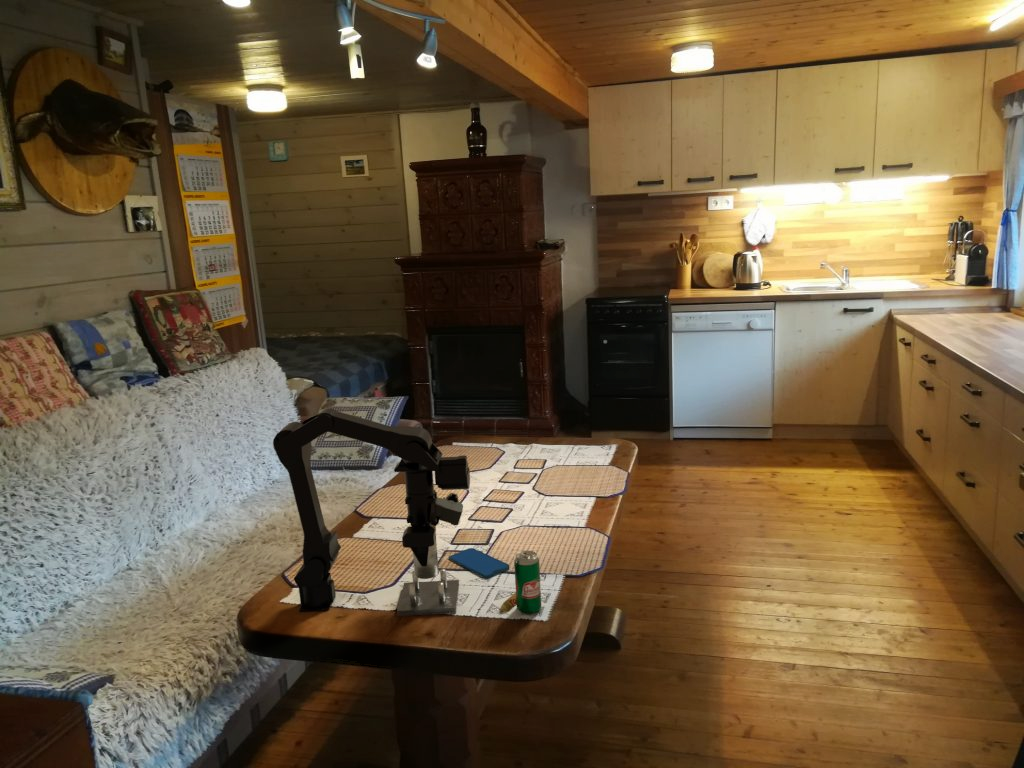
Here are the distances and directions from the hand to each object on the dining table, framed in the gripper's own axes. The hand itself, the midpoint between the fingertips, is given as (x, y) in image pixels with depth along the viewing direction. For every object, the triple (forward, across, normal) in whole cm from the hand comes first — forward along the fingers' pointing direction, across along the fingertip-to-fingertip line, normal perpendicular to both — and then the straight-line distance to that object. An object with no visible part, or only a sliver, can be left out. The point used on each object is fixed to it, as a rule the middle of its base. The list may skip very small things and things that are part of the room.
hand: (425, 560), depth 160 cm
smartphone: (+10, +16, -10) cm, 21 cm away
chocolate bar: (+10, -1, -19) cm, 22 cm away
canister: (+3, 0, 0) cm, 3 cm away
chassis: (+9, 0, 0) cm, 9 cm away
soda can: (+9, -6, -21) cm, 24 cm away
